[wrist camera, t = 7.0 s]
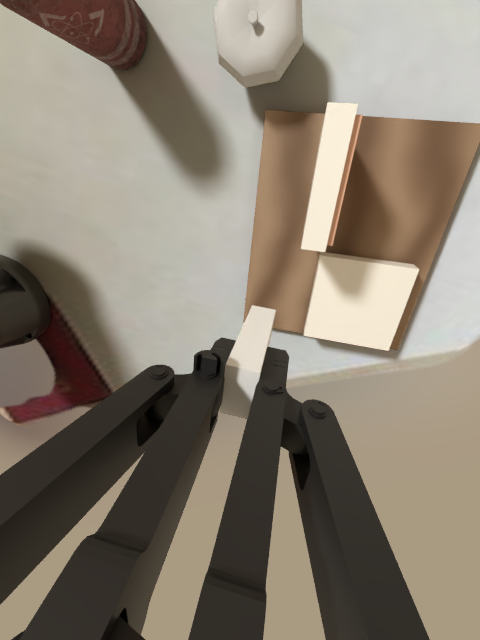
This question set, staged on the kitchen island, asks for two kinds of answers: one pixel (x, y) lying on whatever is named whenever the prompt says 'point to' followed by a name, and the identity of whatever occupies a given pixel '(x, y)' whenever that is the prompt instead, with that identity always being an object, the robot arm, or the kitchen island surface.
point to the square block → (358, 299)
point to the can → (91, 26)
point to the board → (353, 204)
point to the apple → (257, 38)
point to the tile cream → (330, 175)
